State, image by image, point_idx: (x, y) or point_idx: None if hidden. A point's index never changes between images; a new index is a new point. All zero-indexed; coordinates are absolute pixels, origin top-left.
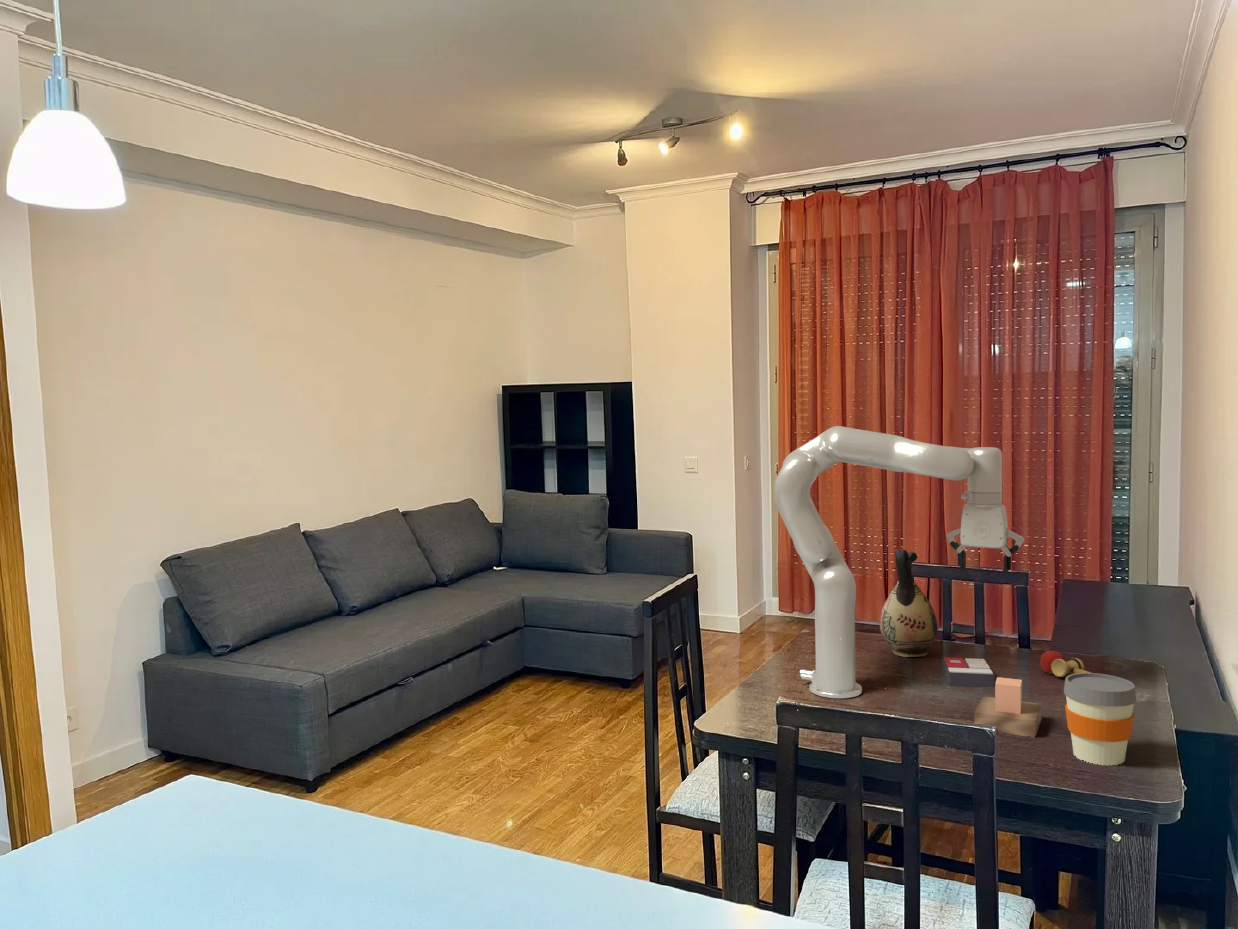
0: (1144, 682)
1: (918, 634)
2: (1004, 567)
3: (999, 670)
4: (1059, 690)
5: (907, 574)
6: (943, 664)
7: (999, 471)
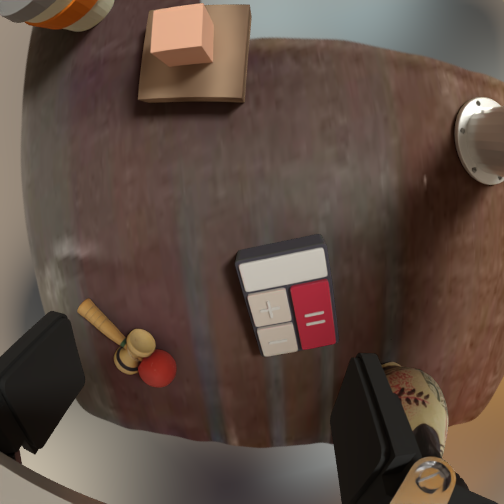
0: None
1: None
2: (39, 329)
3: (240, 352)
4: (137, 276)
5: None
6: (335, 314)
7: None
